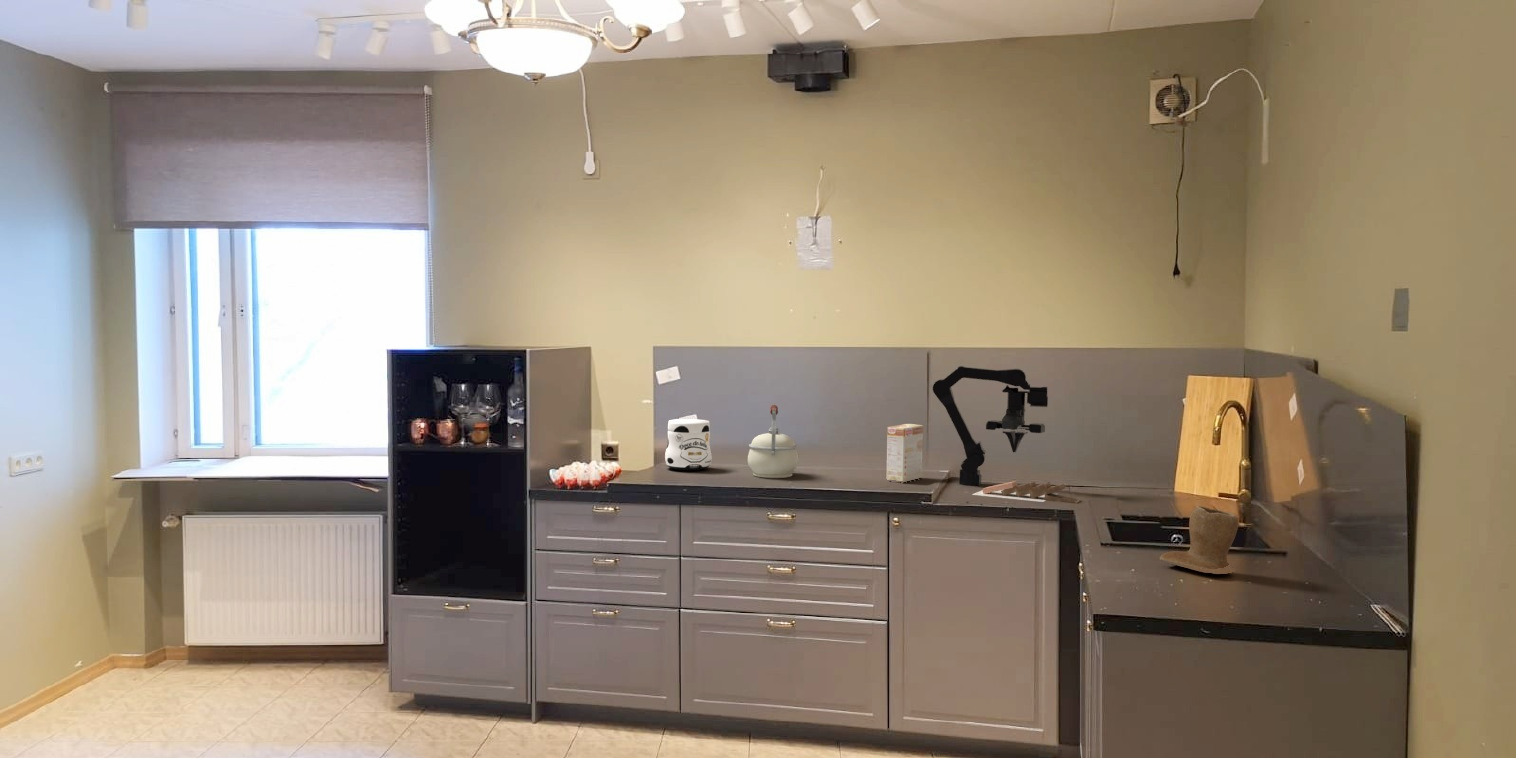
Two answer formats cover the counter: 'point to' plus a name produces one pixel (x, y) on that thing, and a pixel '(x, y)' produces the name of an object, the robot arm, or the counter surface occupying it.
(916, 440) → the coffeecake box
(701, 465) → the doce de leite jar
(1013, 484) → the domino
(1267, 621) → the counter surface
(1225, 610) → the counter surface
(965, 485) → the robot arm
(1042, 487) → the domino
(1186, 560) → the brown hat
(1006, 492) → the domino
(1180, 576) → the counter surface
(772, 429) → the kettle
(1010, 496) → the domino mat
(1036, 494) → the domino
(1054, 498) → the domino
